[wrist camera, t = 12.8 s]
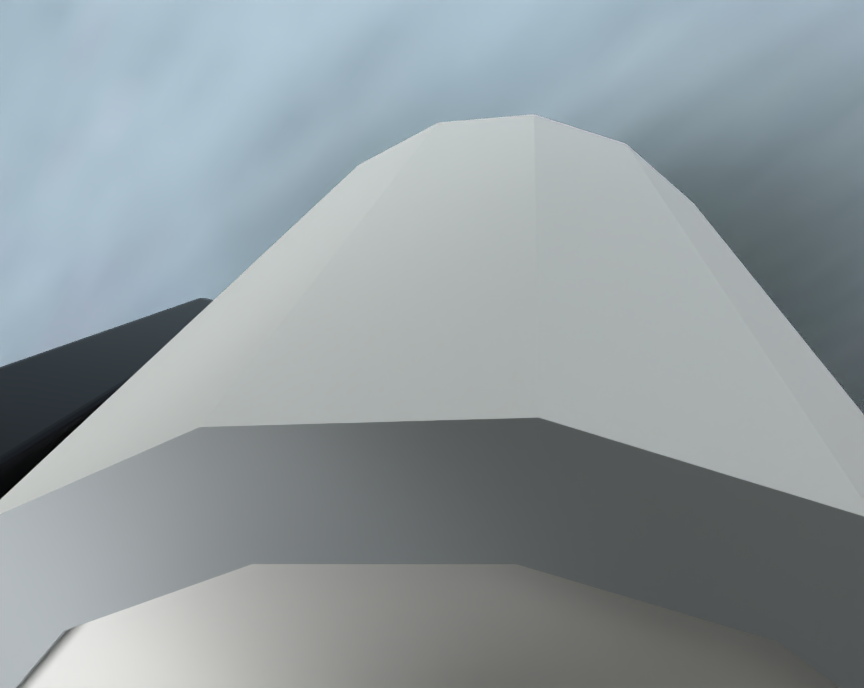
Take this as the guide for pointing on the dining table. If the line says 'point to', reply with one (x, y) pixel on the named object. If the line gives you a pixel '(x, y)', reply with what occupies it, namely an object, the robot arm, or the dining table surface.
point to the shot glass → (459, 455)
